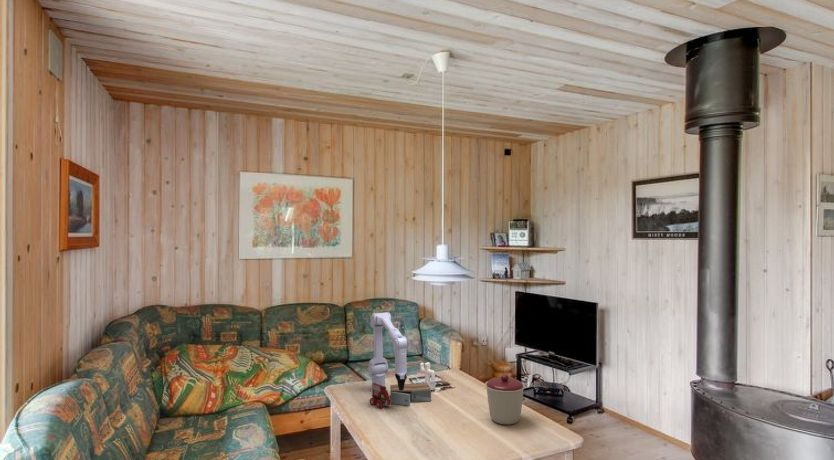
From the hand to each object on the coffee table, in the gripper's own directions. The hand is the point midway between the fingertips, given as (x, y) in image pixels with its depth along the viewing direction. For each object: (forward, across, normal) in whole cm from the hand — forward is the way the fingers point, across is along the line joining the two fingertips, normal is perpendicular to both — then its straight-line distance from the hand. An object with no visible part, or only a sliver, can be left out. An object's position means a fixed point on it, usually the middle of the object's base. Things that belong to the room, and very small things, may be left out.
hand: (401, 389), depth 230 cm
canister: (+10, +22, +46) cm, 52 cm away
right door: (+9, -4, 0) cm, 10 cm away
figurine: (+10, -24, +17) cm, 31 cm away
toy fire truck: (+10, -5, -10) cm, 15 cm away
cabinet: (+9, -12, +6) cm, 16 cm away
